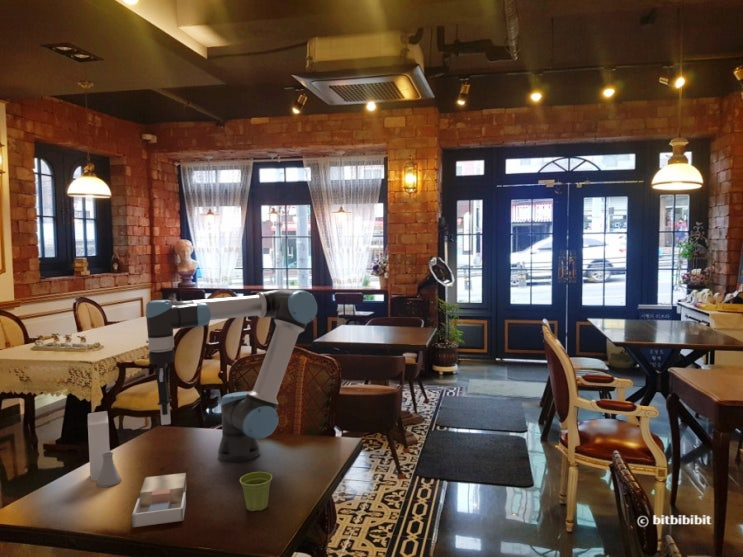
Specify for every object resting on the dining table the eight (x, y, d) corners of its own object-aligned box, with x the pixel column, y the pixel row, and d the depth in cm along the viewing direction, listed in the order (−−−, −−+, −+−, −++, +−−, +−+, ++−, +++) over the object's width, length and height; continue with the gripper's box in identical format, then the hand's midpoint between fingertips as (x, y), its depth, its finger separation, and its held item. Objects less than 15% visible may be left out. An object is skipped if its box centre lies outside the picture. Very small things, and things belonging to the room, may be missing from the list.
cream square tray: (186, 488, 177) (185, 472, 177) (183, 503, 166) (183, 487, 166) (146, 493, 174) (145, 477, 174) (140, 509, 163) (140, 492, 163)
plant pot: (257, 517, 157) (256, 487, 156) (233, 509, 162) (232, 480, 162) (279, 504, 165) (279, 475, 164) (256, 497, 170) (255, 469, 169)
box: (185, 503, 166) (185, 492, 166) (183, 520, 156) (182, 508, 156) (138, 509, 163) (138, 498, 163) (132, 527, 153) (132, 514, 152)
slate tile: (167, 509, 155) (167, 519, 155) (169, 501, 160) (169, 511, 160) (148, 511, 154) (148, 522, 154) (150, 503, 159) (151, 513, 159)
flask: (111, 488, 178) (110, 458, 178) (91, 487, 180) (90, 456, 179) (125, 479, 186) (124, 449, 185) (106, 478, 187) (105, 448, 186)
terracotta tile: (170, 488, 164) (169, 493, 161) (171, 505, 164) (170, 509, 161) (152, 490, 163) (151, 495, 160) (153, 507, 163) (151, 512, 160)
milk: (110, 477, 187) (108, 413, 186) (90, 481, 184) (88, 415, 183) (109, 471, 193) (107, 408, 191) (89, 475, 190) (87, 411, 188)
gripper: (151, 347, 179) (155, 419, 181) (146, 354, 166) (150, 431, 168) (175, 345, 181) (179, 416, 183) (172, 352, 168) (177, 428, 170)
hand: (166, 423), depth 175 cm, fingers closed
